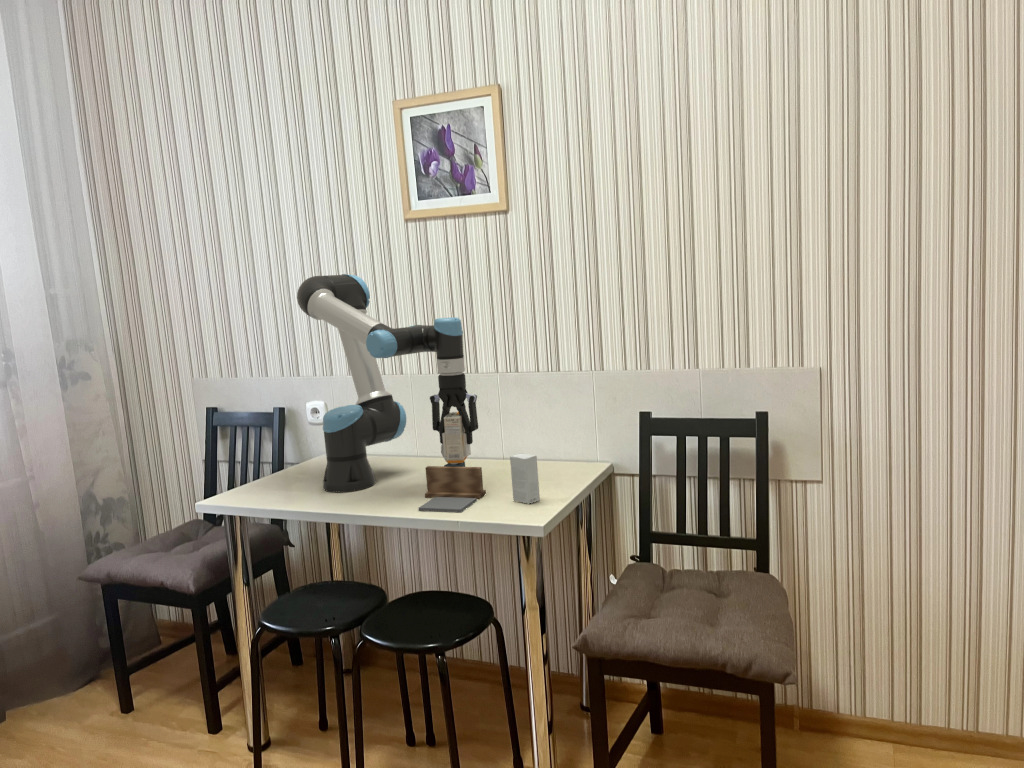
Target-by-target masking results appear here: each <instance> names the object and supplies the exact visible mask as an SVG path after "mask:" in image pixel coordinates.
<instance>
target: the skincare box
mask: <svg viewBox="0 0 1024 768" xmlns="http://www.w3.org/2000/svg"><path fill="white" fill-rule="evenodd" d="M509 460H510V461H509V462H510V474H511V486H512V487H511V488H512V490H511V491H512V501H513V500H514V501H513V502H516V501H519V502H518V503H521V502H523V503H522V504H526V503H528V504H527V505H530V504H529V503H531V504H534V503H536V501H537V502H539V501H540V500H541V497H540V495H541V494H540V484H539V483H540V481H539V472H538V457H537V455H534V454H528V453H518V454H514V455H510V456H509ZM533 502H534V503H533Z"/></svg>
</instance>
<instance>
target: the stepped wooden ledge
mask: <svg viewBox="0 0 1024 768" xmlns="http://www.w3.org/2000/svg"><path fill="white" fill-rule="evenodd" d="M482 470H483V469H482V466H465V467H446V466H444V465H442V466H441V465H440V466H439V465H437V466H436V465H435V466H434V465H433V466H431V465H427V466H426V467H425V479H426V492H425V493H424V498H425V499H433V498H435V497H454V498H477V499H479V500H481V499H482V498H483V497H485V496H486V495H487V491H486V489H484V481H483V471H482ZM485 494H486V495H485ZM484 495H485V496H484ZM480 498H481V499H480Z"/></svg>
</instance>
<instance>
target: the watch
mask: <svg viewBox="0 0 1024 768" xmlns="http://www.w3.org/2000/svg"><path fill="white" fill-rule="evenodd" d="M440 453H441V456H442V458H443V459H444V461H445V462H446V464H444V465H443V466H446V467H466V460H465V461H464V462H463V463H447V456H444V451H443V444H440Z"/></svg>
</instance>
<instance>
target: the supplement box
mask: <svg viewBox="0 0 1024 768" xmlns="http://www.w3.org/2000/svg"><path fill="white" fill-rule="evenodd" d="M444 427H445V440H446V454H447V462H446V464H448V463H463V462H464V461H465V462H466V459H467V458H468V456H467V457H464V443H463V433H464V432H465V429H464V427H463V424H462V416H460V415H459V412H458V411H450V412H449V414H447V415H446V416H445V417H444Z"/></svg>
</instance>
